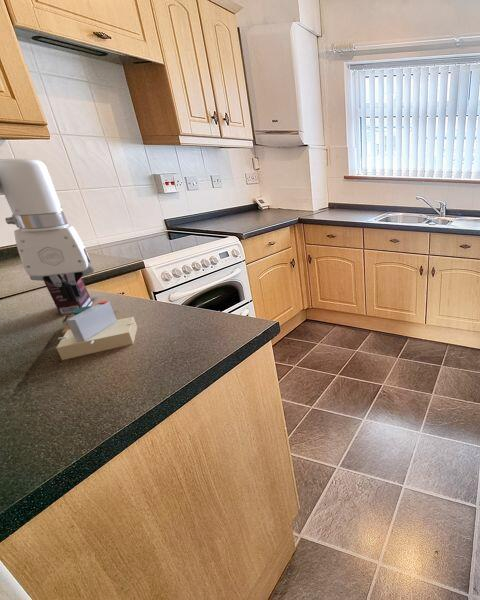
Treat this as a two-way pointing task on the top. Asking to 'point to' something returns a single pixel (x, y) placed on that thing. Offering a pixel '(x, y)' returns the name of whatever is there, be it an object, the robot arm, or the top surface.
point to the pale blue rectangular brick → (92, 321)
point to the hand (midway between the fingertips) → (74, 300)
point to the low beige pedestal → (99, 339)
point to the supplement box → (62, 303)
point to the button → (80, 310)
